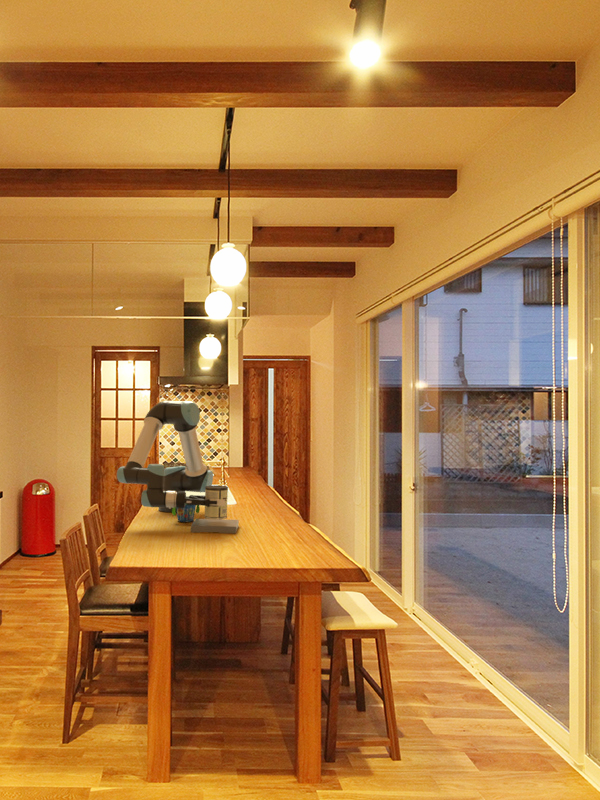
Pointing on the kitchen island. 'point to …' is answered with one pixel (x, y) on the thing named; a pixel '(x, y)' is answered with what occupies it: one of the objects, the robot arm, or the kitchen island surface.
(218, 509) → the coffee can
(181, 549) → the kitchen island surface
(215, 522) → the slate plinth
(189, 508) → the snack cup
